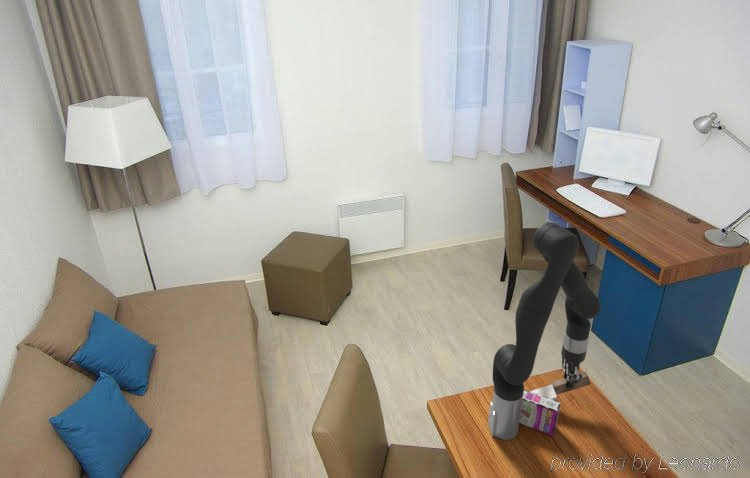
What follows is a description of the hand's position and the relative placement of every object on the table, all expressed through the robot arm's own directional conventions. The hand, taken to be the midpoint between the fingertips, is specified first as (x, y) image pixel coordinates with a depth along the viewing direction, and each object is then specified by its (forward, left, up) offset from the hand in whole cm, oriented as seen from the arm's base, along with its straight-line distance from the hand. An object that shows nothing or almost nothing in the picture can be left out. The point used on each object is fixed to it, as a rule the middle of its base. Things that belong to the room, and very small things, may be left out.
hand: (567, 384), depth 179 cm
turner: (-1, 0, -2) cm, 3 cm away
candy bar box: (-6, -11, -4) cm, 14 cm away
